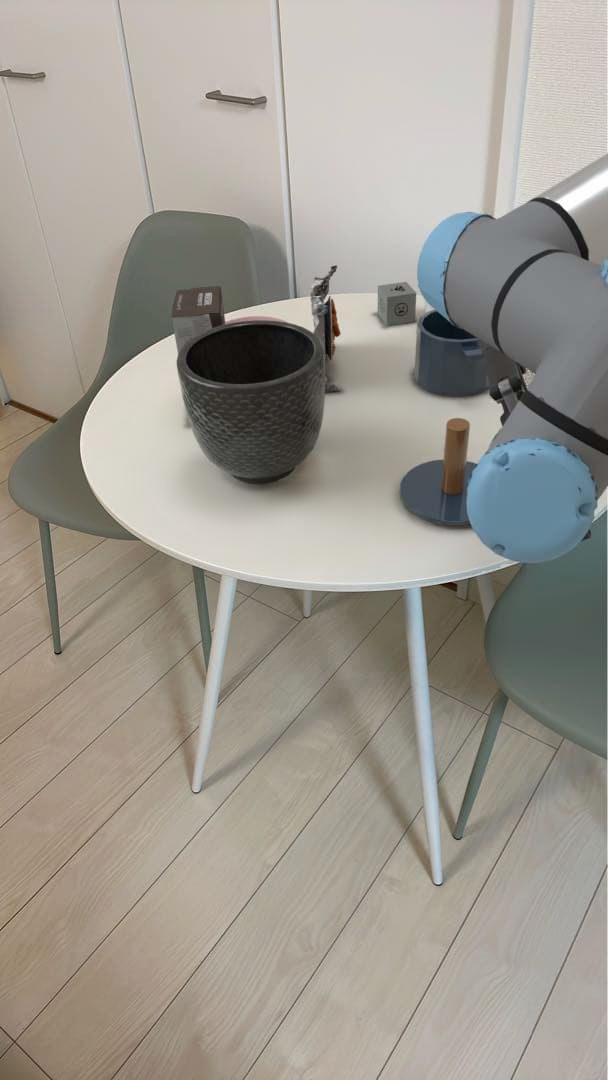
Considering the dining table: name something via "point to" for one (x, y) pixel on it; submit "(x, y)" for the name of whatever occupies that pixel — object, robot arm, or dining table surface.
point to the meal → (325, 318)
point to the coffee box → (196, 312)
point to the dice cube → (396, 303)
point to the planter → (254, 396)
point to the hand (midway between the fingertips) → (538, 434)
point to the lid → (442, 480)
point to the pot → (448, 358)
